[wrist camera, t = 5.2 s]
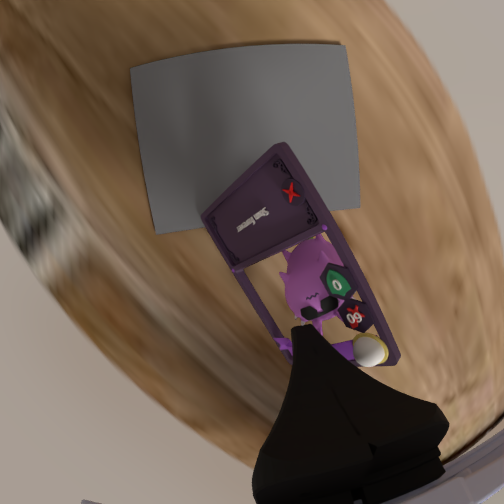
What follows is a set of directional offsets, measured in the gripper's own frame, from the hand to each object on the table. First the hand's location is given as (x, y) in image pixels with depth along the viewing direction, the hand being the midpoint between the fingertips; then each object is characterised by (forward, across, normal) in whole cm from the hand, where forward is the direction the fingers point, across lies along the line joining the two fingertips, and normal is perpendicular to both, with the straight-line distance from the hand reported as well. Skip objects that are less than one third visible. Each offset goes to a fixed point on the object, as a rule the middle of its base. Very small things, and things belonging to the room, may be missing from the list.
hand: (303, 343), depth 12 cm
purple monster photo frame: (+5, 0, -1) cm, 5 cm away
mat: (+6, +1, -8) cm, 10 cm away
